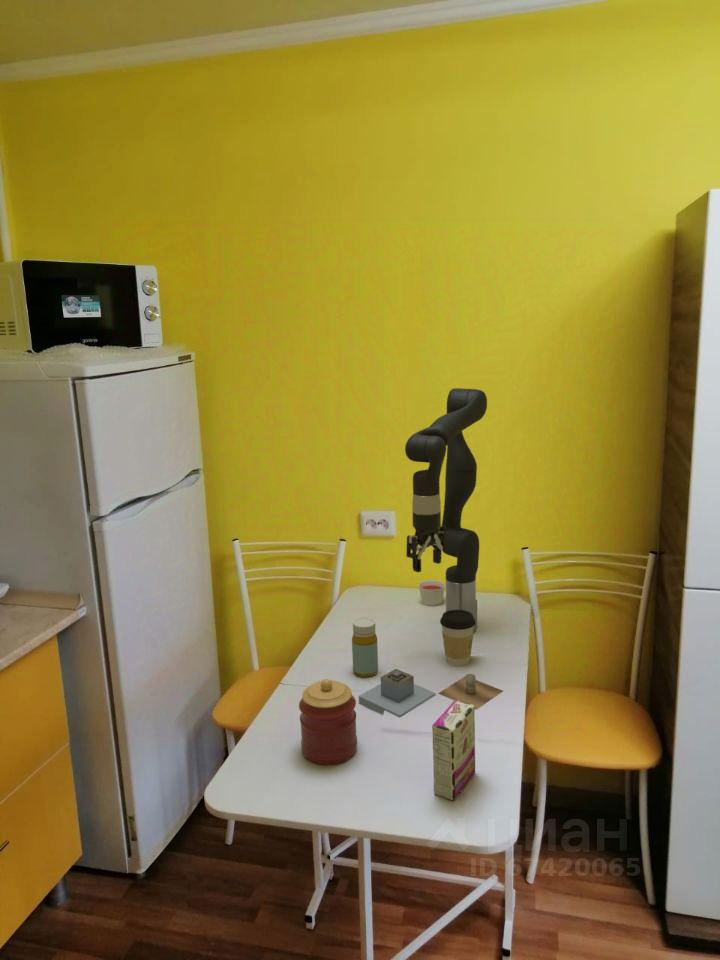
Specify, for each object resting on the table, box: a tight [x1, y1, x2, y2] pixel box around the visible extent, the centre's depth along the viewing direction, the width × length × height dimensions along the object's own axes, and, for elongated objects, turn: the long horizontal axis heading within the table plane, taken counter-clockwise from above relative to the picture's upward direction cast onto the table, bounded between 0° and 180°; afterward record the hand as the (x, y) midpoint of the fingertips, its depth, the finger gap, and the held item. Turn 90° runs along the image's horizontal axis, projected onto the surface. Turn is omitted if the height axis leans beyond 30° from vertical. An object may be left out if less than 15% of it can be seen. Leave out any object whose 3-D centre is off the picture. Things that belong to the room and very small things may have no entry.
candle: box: [418, 579, 446, 607], centre depth 249 cm, size 9×9×6 cm
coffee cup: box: [439, 610, 476, 667], centre depth 203 cm, size 10×10×15 cm
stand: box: [437, 673, 504, 711], centre depth 187 cm, size 12×12×6 cm
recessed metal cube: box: [380, 668, 415, 703], centre depth 185 cm, size 6×6×5 cm
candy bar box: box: [431, 700, 476, 801], centre depth 152 cm, size 11×5×16 cm, turn 148°
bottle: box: [351, 617, 379, 678], centre depth 201 cm, size 7×7×15 cm
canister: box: [298, 678, 358, 766], centre depth 165 cm, size 13×13×18 cm
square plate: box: [358, 671, 437, 718], centre depth 186 cm, size 14×14×8 cm
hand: (427, 567), depth 196 cm, fingers open, 8 cm apart
